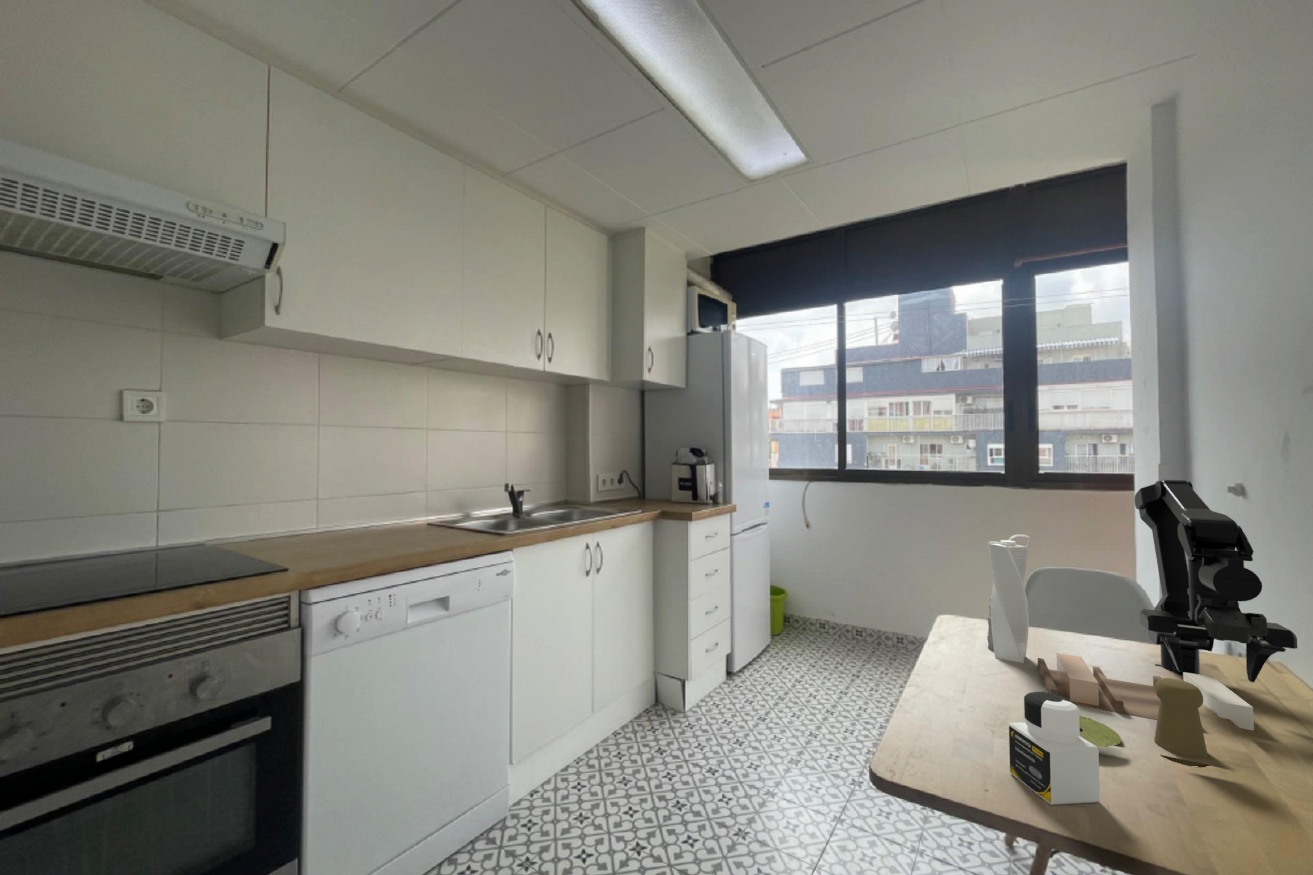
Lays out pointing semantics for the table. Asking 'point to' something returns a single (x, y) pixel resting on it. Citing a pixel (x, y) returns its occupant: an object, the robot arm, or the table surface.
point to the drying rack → (1110, 693)
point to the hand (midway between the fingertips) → (1214, 675)
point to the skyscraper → (1008, 600)
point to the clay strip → (1222, 700)
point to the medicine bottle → (1054, 751)
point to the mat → (1097, 733)
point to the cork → (1180, 721)
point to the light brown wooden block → (1077, 679)
